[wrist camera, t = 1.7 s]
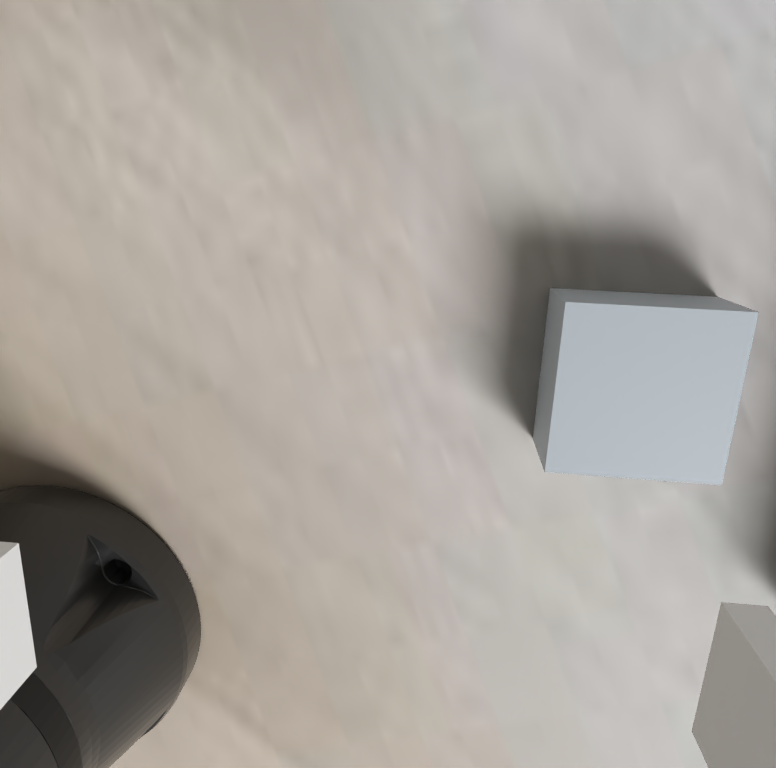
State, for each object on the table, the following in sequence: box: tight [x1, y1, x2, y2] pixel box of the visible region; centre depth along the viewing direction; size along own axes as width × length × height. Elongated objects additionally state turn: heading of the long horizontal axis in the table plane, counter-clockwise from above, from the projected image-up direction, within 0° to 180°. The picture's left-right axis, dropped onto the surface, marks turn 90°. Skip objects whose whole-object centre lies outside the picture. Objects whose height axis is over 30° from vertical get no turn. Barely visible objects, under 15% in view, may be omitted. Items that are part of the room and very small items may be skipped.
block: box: [533, 288, 759, 485], centre depth 26 cm, size 7×7×4 cm
